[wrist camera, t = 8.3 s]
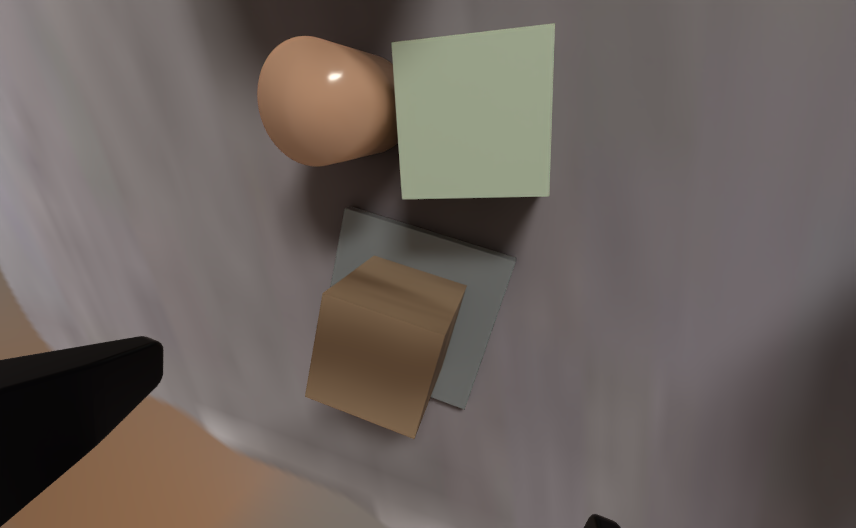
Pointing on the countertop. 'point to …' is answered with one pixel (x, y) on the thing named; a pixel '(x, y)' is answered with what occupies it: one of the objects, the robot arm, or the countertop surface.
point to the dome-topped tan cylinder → (327, 101)
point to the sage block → (475, 113)
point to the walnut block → (383, 343)
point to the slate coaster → (443, 259)
